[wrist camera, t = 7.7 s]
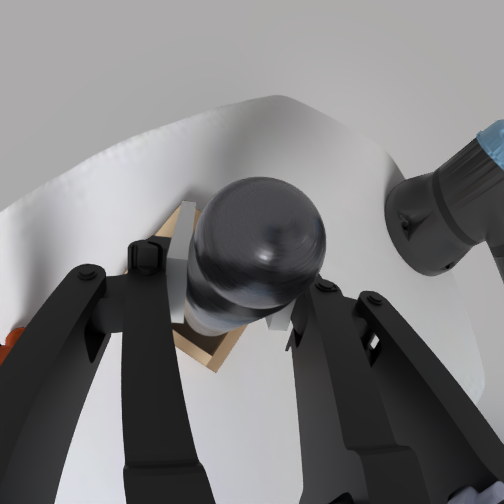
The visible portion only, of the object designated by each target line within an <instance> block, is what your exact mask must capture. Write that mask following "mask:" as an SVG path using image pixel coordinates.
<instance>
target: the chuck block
mask: <svg viewBox="0 0 504 504" xmlns="http://www.w3.org/2000/svg"><path fill="white" fill-rule="evenodd" d="M184 201H185V200H184ZM180 207H181V205H180V206H179V207H178V208H177V209H176V211H175V212H174V213H173V214H172V215H171V216H170V218H169V219H168V220H167V221H166V222H165V224H164V225H163V226H162V227H161V228H160V230H159V231H158V232H157V233H156V234H155V236H163V237H171V238H172V236H173V232H174V228H175V225H176V221H177V218H178V214H179V211H180ZM200 214H201V211H199V210H198V209H195V217H194V224H193V232H194V230H195V228H196V225H197V222H198V219H199V216H200ZM193 232H192V234H193ZM127 272H128V270H127V271H126V272H125V274H126V273H127ZM247 325H248V324H247ZM247 325H244V326H242V327H239V328H237V329H234V330H231V331H229V332H226V333H224V334H221V335H218V336H205V335H202V334H200V333H198V332H196V331H195V330H193V329H192V328H191V327H190V325H189V324H188V322H187V320H186V318H185V314H184V323H174V322H172V329H173V336H174V343H175V346H176V347H177V348H179V349H180V350H182V351H183V352H185V353H186V354H188V355H189V356H190V357H192V358H193V359H195V360H196V361H198V362H200V363H201V364H203V365H204V366H206V367H207V368H209V369H210V370H212V371H213V372H215V373H216V372H217V371H218V369H219V368H220V366H221V365H222V363H223V362H224V360H225V359H226V357H227V356H228V354H229V353H230V351H231V350H232V348H233V347H234V345H235V344H236V342H237V341H238V339H239V337H240V336H241V334H242V333H243V331H244V330H245V328H246V327H247Z"/></svg>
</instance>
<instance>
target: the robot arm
mask: <svg viewBox="0 0 504 504" xmlns="http://www.w3.org/2000/svg"><path fill="white" fill-rule="evenodd" d="M195 209H196V202H189V201H182V204H181V207H180V211H179V214H178V218H177V221H176V225H175V228H174V232H173V236H172V238H171V237H163V236H154V235H153V236H151V237H150V238H148V239H146V240H138V241H134V242H132V243H131V244H130V245H129V246H128V272H127V273H126V274H123V275H118V276H106V272H105V270H104V269H103V268H102V267H101V266H98V265H95V264H82V265H80V266H77V267H75V268H73V269H72V270H71V271H70V272H69V273H68V274H67V276H66V277H65V278H64V279H63V280H62V282H61V283H60V284H59V285H58V287H57V288H56V289H55V290H54V291H53V293H52V294H51V295H50V297H49V298H48V299H47V300H46V302H45V303H44V304H43V306H42V307H41V308H40V309H39V311H38V312H37V313H36V315H35V316H34V317H33V319H32V320H31V322H30V323H29V324H28V326H27V327H26V328H25V330H24V331H23V333H22V334H21V336H20V337H19V338H18V340H17V341H16V343H15V344H14V346H13V347H12V349H11V350H10V352H9V353H8V355H7V356H6V358H5V359H4V361H3V363H2V364H1V366H0V504H54V502H55V498H56V494H57V490H58V486H59V482H60V478H61V474H62V471H63V467H64V464H65V460H66V457H67V453H68V450H69V447H70V444H71V440H72V437H73V434H74V431H75V428H76V425H77V422H78V419H79V416H80V413H81V411H82V408H83V405H84V402H85V400H86V397H87V394H88V391H89V389H90V386H91V384H92V381H93V378H94V376H95V373H96V371H97V368H98V366H99V363H100V361H101V359H102V356H103V354H104V351H105V349H106V347H107V344H108V342H109V340H110V337H111V333H118V332H123V333H122V361H121V398H122V425H123V441H124V454H125V466H124V468H123V479H124V489H125V496H126V503H127V504H216V503H215V500H214V497H213V494H212V490H211V487H210V483H209V480H208V477H207V474H206V471H205V469H204V467H203V465H202V464H201V463H200V462H199V460H198V457H197V453H196V449H195V445H194V441H193V437H192V433H191V428H190V424H189V419H188V414H187V410H186V405H185V400H184V395H183V390H182V384H181V379H180V373H179V368H178V362H177V356H176V349H175V343H174V336H173V329H172V322H174V323H184V311H185V299H186V288H187V263H188V252H189V245H190V240H191V237H192V232H193V224H194V217H195ZM385 216H386V223H387V227H388V231H389V234H390V237H391V239H392V241H393V243H394V245H395V247H396V249H397V251H398V252H399V254H400V255H401V257H402V258H403V259H404V260H405V262H406V263H407V264H408V265H409V266H410V267H412V268H413V269H414V270H416V271H417V272H419V273H421V274H423V275H426V276H436V275H439V274H442V273H444V272H447V271H449V270H450V269H452V268H453V267H454V266H455V265H456V264H457V263H458V262H459V261H460V259H461V258H462V257H464V255H465V254H466V253H467V252H468V251H469V250H470V249H471V248H472V247H473V246H475V245H477V244H479V243H481V242H483V241H486V242H487V244H488V246H489V248H490V250H491V253H492V255H493V258H494V260H495V262H496V265H497V267H498V270H499V272H500V275H501V278H502V280H503V283H504V120H498V121H496V122H495V123H493V124H492V125H491V126H489V127H488V128H487V129H485V130H484V131H481V132H479V133H478V134H477V136H476V138H475V139H473V141H471V142H470V143H469V144H468V145H466V146H465V147H464V148H463V149H462V150H461V151H459V152H458V153H457V154H455V155H454V156H453V157H452V158H450V159H449V160H448V161H447V162H445V163H444V164H443V165H442V166H441V167H439V168H438V169H437V170H435V171H434V172H431V173H428V174H424V175H421V176H417V177H414V178H410V179H407V180H404V181H403V182H401V183H400V184H399V185H397V186H396V187H395V188H394V189H393V190H392V191H391V192H390V193H389V195H388V198H387V201H386V206H385ZM265 318H266V322H267V325H268V329H269V330H285V331H287V329H288V326H289V323H290V320H291V321H292V324H293V329H292V332H291V335H290V338H289V340H288V343H287V346H286V350H285V351H288V350H289V347H291V349H292V358H293V368H294V378H295V388H296V399H297V409H298V421H299V432H300V445H301V457H302V471H303V493H302V496H301V498H300V501H299V504H504V444H503V443H502V442H501V441H500V439H499V438H498V436H497V435H496V433H495V432H494V431H493V429H492V428H491V426H490V425H489V424H488V422H487V421H486V419H485V418H484V417H483V415H482V414H481V413H480V411H479V410H478V408H477V407H476V406H475V404H474V403H473V402H472V400H471V399H470V398H469V397H468V395H467V394H466V393H465V391H464V390H463V389H462V388H461V386H460V385H459V384H458V382H457V381H456V380H455V379H454V377H453V376H452V375H451V374H450V372H449V371H448V370H447V369H446V367H445V366H444V365H443V364H442V363H441V361H440V360H439V359H438V358H437V356H436V355H435V354H434V353H433V352H432V350H431V349H430V348H429V347H428V346H427V345H426V343H425V342H424V341H423V340H422V339H421V338H420V336H419V335H418V334H417V333H416V332H415V331H414V329H413V328H412V327H411V326H410V325H409V324H408V323H407V321H406V320H405V319H404V318H403V317H402V316H401V315H400V314H399V312H398V311H397V310H396V309H395V308H394V307H393V306H392V305H391V304H390V302H389V301H388V300H387V299H386V298H384V297H383V296H382V295H380V294H379V293H377V292H374V291H362V292H361V293H360V295H359V297H358V299H357V300H356V299H352V298H348V297H344V296H343V294H342V292H341V290H340V288H339V287H338V286H337V285H336V284H334V283H333V282H330V281H328V280H325V279H322V277H321V276H320V274H318V276H317V277H316V279H315V280H314V282H313V283H312V284H311V286H310V287H309V288H308V289H307V290H306V291H305V292H304V293H303V294H301V295H300V296H299V297H297V298H296V299H294V300H293V301H292V302H291V303H290V304H289V305H288V306H286V307H285V308H283V309H282V310H280V311H278V312H276V313H274V314H271V315H269V316H266V317H265ZM375 335H376V336H377V337H378V339H379V342H378V343H377V345H376V347H375V348H372V346H371V345H370V344H371V342H372V340H373V339H374V337H375Z"/></svg>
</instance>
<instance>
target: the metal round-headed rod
mask: <svg viewBox="0 0 504 504" xmlns="http://www.w3.org/2000/svg"><path fill="white" fill-rule="evenodd" d="M325 252H326V233H325V228H324V224H323V221H322V219H321V216H320V214H319V212H318V210H317V208H316V207H315V205H314V204H313V202H312V201H311V200H310V199H309V198H308V197H307V196H306V195H305V194H304V193H303V192H302V191H300V190H299V189H298V188H296V187H295V186H293V185H291V184H289V183H287V182H285V181H282V180H279V179H275V178H269V177H250V178H245V179H241V180H238V181H236V182H233V183H231V184H229V185H227V186H226V187H224V188H223V189H221V190H220V191H219V192H217V193H216V194H215V195H214V196H213V197H212V198H211V199H210V200H209V202H208V203H207V205H206V206H205V207H204V209H203V211H202V212H201V214H200V216H199V219H198V222H197V225H196V228H195V230H194V232H193V234H192V237H191V240H190V245H189V252H188V263H187V288H186V299H185V311H184V314H185V318H186V320H187V322H188V324H189V325H190V327H191V328H192V329H193V330H195V331H196V332H198V333H200V334H202V335H205V336H218V335H221V334H224V333H226V332H229V331H231V330H234V329H237V328H239V327H242V326H244V325H247V324H249V323H252V322H254V321H257V320H259V319H262V318H264V317H266V316H269V315H271V314H274V313H276V312H278V311H280V310H282V309H283V308H285V307H286V306H288V305H289V304H290V303H291V302H292V301H293V300H294V299H296V298H297V297H299V296H300V295H301V294H303V293H304V292H305V291H306V290H307V289H308V288H309V287H310V286H311V284H312V283H313V282H314V280H315V279H316V277H317V276H318V274H319V272H320V270H321V267H322V265H323V261H324V258H325Z"/></svg>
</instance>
